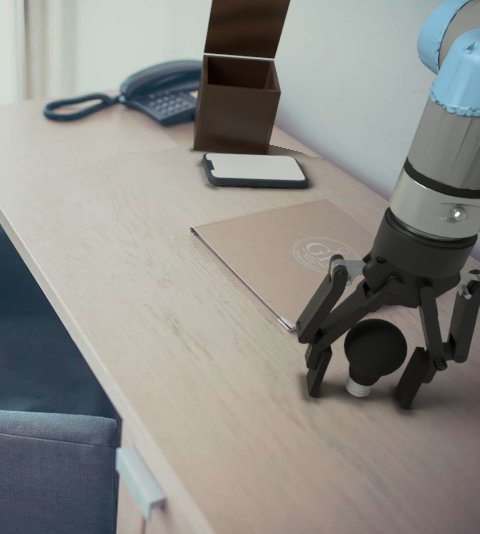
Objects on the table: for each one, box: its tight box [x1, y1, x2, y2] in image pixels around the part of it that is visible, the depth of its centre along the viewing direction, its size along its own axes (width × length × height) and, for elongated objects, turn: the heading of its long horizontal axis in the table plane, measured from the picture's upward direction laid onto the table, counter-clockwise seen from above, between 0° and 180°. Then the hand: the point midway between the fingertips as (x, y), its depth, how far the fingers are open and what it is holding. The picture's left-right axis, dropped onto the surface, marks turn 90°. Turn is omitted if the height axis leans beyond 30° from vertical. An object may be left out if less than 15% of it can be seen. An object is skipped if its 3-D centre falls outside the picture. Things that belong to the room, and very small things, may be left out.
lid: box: [203, 0, 291, 60], centre depth 112 cm, size 15×13×9 cm
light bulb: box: [343, 318, 408, 398], centre depth 66 cm, size 6×6×10 cm
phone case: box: [201, 152, 308, 189], centre depth 106 cm, size 9×2×16 cm
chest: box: [192, 54, 282, 155], centre depth 114 cm, size 15×13×12 cm
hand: (356, 392), depth 69 cm, fingers open, 9 cm apart
